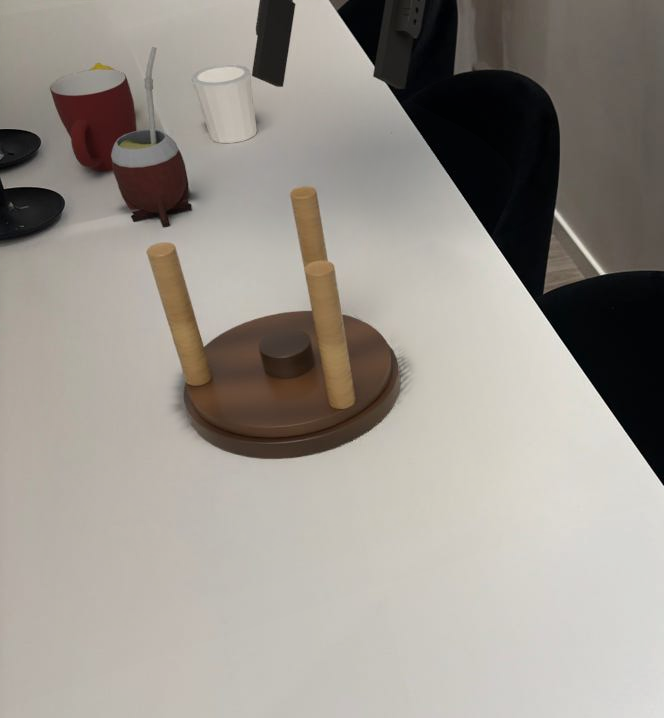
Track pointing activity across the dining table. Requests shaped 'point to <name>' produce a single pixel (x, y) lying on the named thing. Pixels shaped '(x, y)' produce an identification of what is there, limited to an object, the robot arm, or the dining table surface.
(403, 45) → the robot arm
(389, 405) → the rack base
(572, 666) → the dining table surface
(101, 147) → the mug
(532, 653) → the dining table surface
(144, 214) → the mate gourd
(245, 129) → the shot glass
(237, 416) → the rack turntable
